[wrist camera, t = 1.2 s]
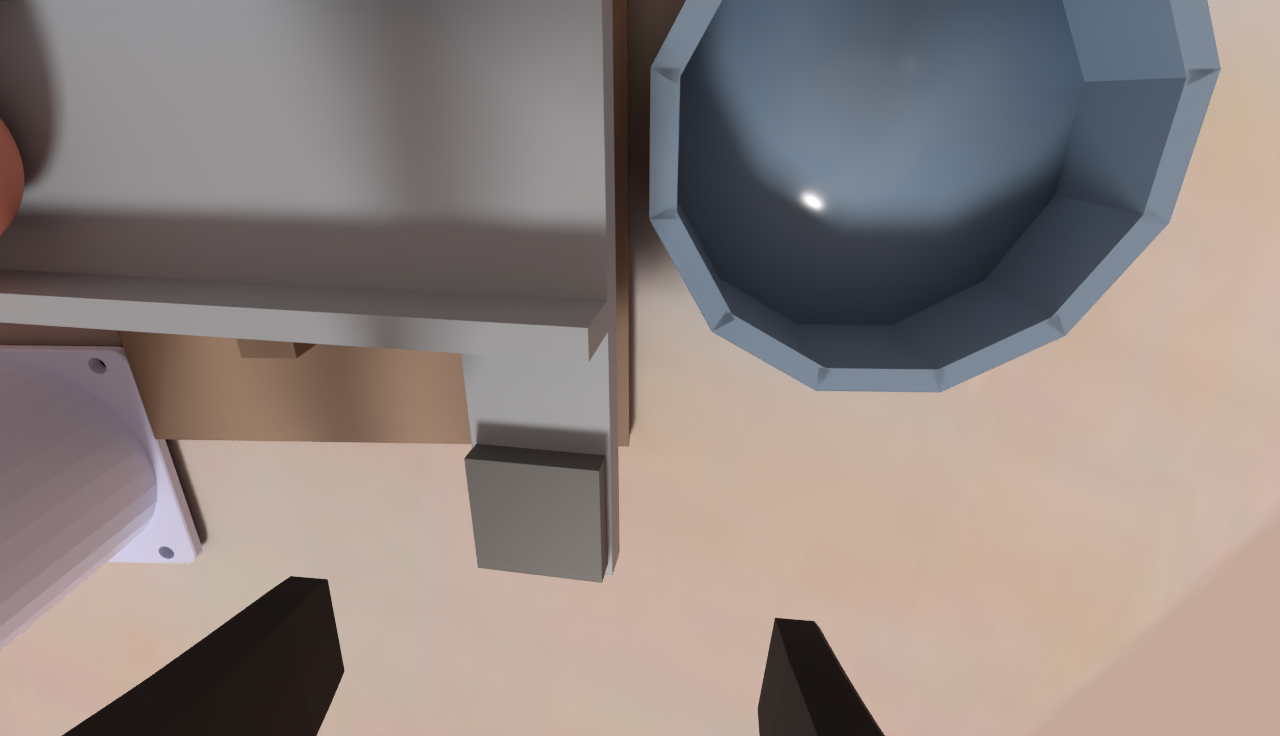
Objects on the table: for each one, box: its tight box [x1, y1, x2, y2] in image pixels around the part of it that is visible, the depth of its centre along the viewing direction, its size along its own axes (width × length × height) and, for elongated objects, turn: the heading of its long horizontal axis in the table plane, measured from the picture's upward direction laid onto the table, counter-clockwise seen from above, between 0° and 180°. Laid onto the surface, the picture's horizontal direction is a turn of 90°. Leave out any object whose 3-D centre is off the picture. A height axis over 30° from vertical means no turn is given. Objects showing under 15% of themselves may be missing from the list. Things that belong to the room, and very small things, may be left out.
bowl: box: [649, 0, 1221, 392], centre depth 15 cm, size 11×11×4 cm
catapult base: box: [117, 0, 630, 446], centre depth 14 cm, size 15×18×5 cm
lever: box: [0, 0, 619, 583], centre depth 12 cm, size 15×12×2 cm
